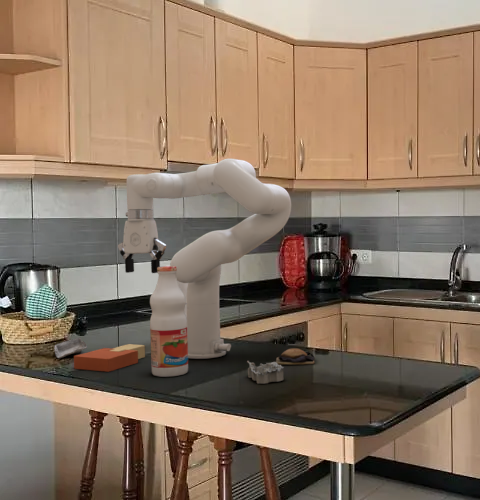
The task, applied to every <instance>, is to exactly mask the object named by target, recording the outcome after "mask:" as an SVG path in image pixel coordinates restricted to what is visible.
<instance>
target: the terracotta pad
mask: <svg viewBox="0 0 480 500" xmlns="http://www.w3.org/2000/svg"><path fill="white" fill-rule="evenodd" d="M110 350H113V349H112V348H111V347H110V348H109V347H102V348H99V349H95V350H91V351H87V352H83V353H80V354H76V355H73V368H74V370H83V371H85V370H86V371H94V372H106V373H109V372H113V371H116V370H119V369H122V368H126V367H129V366H132V365H136V364H138V363H139V359H138V351H137V350H124V351H121V352H117V351H110Z"/></svg>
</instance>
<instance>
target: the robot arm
mask: <svg viewBox="0 0 480 500" xmlns="http://www.w3.org/2000/svg"><path fill="white" fill-rule="evenodd" d="M221 193H226V194H227V195H228V196H229V197H231V198H232V199H233V200H235V202H237V203H238V204H240V205H241V207H243V208H244V209H246V210H247V211H249V212H250V213H253V214H252V215H250V216H248V217H246V218H244V219H243V220H241V221H240V222H238V223H237V224H235V225H234V226H232V227H230V228H227V229H226V228H225V229H217V230H212V231H209V232H207V233H204V234H203V235H201V236H200V237H198V238H196V239H195V240H194V241H192V242H190V243H189V244H187V245H186V246H184V247H183V248H181V249H179V250H178V251H177V252H176V253H175V254H174V255H173V256H172V258H171V260H170V263H169V265H170V266H176V268H177V271H176V279H177V281H179V282H182V283H188V287H187V294H186V302H187V303H186V306H187V338H188V359H191V360H192V359H193V360H204V359H214V358H219V357H222V356H225V355H226V354H227V352H230V351H231V348H232V344H231V343H225V341H224V338H221V318H220V317H221V316H220V315H221V314H220V311H221V310H220V283H221V276H222V275H221V274H222V265H225V264H230V263H235V262H236V261H238V260H240V259H241V258H243V257H244V256H245V255H247V254H248V253H250V252H252V251H253V250H255V249H256V248H258V247H259V246H261V245H262V244H264V243H265V242H267V241H269V240H271V238H273V237H274V236H276V235H277V234H278V233H279V232H280V231H281V230H282V229H283V228H284V227H285V226H286V224H287V223H288V221H289V218H290V216H291V213H292V199H291V196H290V193H289V192H288V191H287V190H286V188H284V187H283V186H280V185H278V184H273V183H264V182H262V181H260V180H259V179H258V178H257V173H256V169H255V167H254V166H253V165H252V164H251V163H250V162H248V161H247V160H243V159H237V158H225V159H221V160H220V161H219V162H217V163H210V164H203V165H199V166H198V167H197V169H196V170H195V171H188V172H180V173H168V172H152V173H146V174H144V173H143V174H141V173H140V174H138V173H137V174H129V175H128V176H127V177H126V207H127V209H126V210H127V212H125V217H127V220H125V223H124V227H123V239H122V240H123V241H122V242H120V243H119V244H117V248H118V250H119V254H120V255H121V257H122V259H123V260H124V269H125V271H124V272H125V273H127V274H128V273H129V274H130V273H134V272H135V260H134V258H133V257H134V256H135V255H137V254H141V255H142V254H143V255H145V254H146V255H147V254H149V256H150V257H151V260H150V270H151V273H152V274H158V272H157V268H158V267H161V259H162V258H163V256H164V255H165V251H166V248H167V244H166V243H164V242H163V241H161V240H159V233H158V225H157V222H156V220H155V219H154V218H155V216H154V215H155V214H154V199H171V200H174V199H182V198H183V199H184V198H191V197H192V198H193V197H197V196H206V195H212V194H213V195H214V194H221Z"/></svg>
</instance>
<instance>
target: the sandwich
mask: <svg viewBox="0 0 480 500" xmlns="http://www.w3.org/2000/svg"><path fill="white" fill-rule="evenodd" d="M275 362H276V363H277V364H278V365H282V366H283V365H285V366H286V365H291V366H292V365H303V366H304V365H315V363H316V362H315V356H314V355H313V353H311V352H310V351H304V350H302V349H300V348H288V349H286V350H284V351H282V353H281V354H280V355H279V356H278V357H276V360H275Z"/></svg>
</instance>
